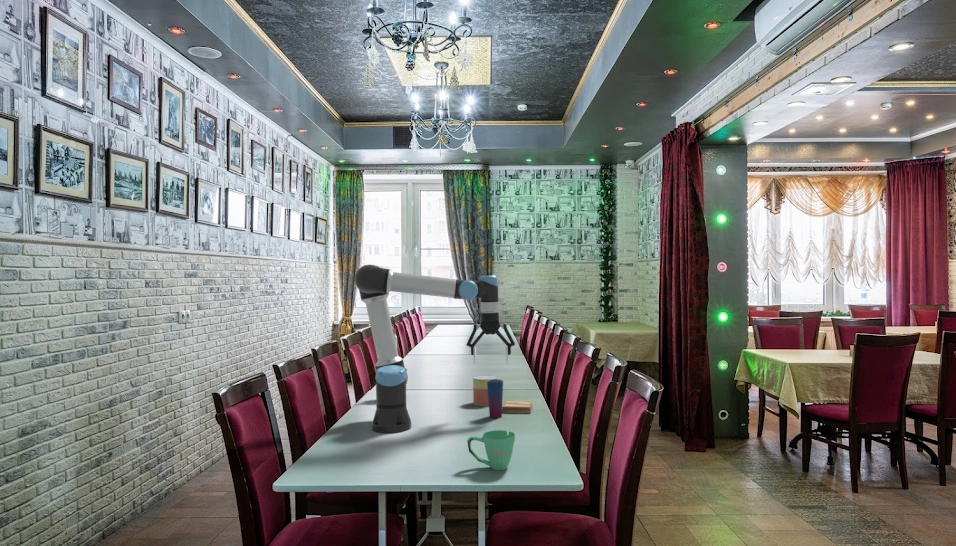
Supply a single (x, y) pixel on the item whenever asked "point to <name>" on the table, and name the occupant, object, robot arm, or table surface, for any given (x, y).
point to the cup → (495, 397)
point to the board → (517, 407)
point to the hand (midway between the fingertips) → (491, 363)
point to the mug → (495, 448)
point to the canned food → (481, 390)
